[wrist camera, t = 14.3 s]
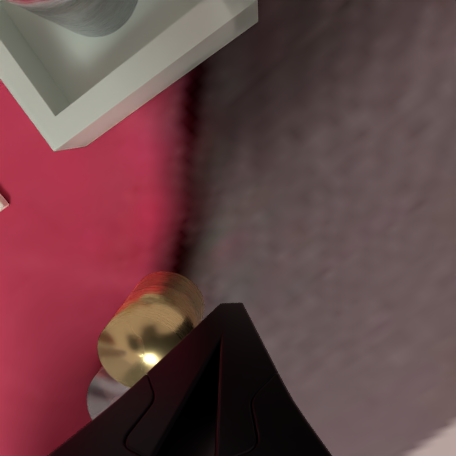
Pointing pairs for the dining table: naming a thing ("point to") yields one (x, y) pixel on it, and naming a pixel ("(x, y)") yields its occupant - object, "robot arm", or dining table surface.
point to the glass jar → (83, 14)
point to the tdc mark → (3, 203)
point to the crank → (149, 325)
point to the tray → (109, 62)
